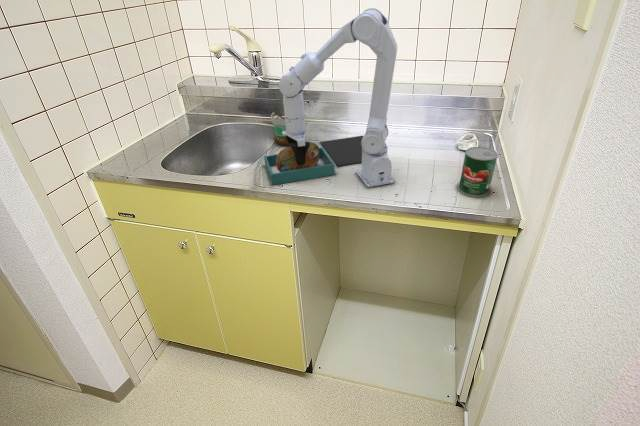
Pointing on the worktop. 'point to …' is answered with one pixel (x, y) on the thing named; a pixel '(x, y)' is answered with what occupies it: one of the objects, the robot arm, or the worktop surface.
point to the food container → (279, 128)
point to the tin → (288, 161)
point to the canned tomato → (477, 171)
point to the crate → (299, 170)
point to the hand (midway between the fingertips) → (298, 159)
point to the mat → (344, 150)
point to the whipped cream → (467, 142)
